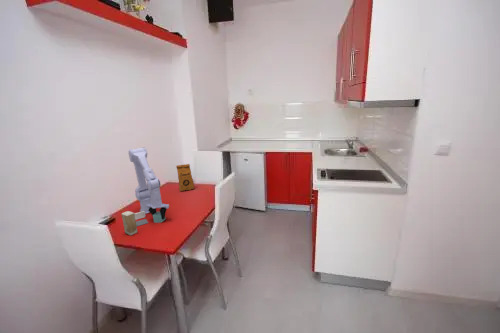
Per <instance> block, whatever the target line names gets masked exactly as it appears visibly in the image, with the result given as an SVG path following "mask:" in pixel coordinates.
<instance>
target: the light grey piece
mask: <svg viewBox="0 0 500 333" xmlns="http://www.w3.org/2000/svg"><path fill="white" fill-rule="evenodd" d="M134 215H135V220H136V221H138V220H139V219H140V220H141V219H143V218H144V219H145V218H146V214H145V211H142V212H141V211H139V212H134Z"/></svg>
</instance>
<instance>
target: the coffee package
mask: <svg viewBox="0 0 500 333" xmlns="http://www.w3.org/2000/svg"><path fill="white" fill-rule="evenodd" d="M175 166H176V167H175V168H176V170H177V178H178V190H179V192H183V191H184V192H186V191H192V190H191V189H193V190H194V188H195V183H194V178H193V176H192V171H191V170H192V169H191V167H190V166H191V165H190V164H189V163H186V164H179V165H175ZM185 190H186V191H185Z"/></svg>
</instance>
